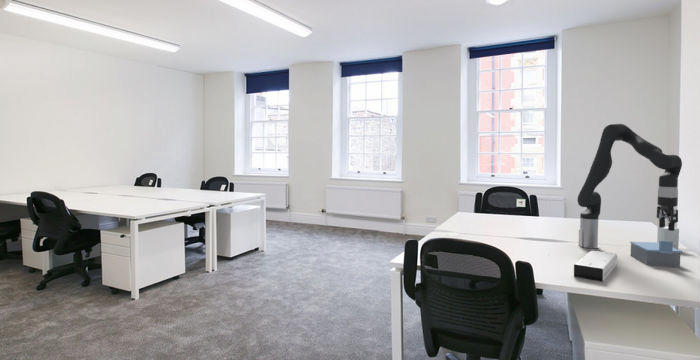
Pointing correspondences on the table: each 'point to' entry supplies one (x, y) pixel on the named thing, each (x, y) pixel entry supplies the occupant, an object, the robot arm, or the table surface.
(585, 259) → the laminator
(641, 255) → the parts tub
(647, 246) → the tub lid
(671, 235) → the supplement box
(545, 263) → the table surface
